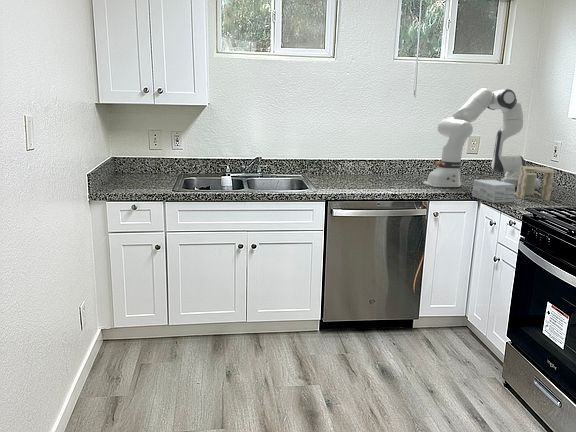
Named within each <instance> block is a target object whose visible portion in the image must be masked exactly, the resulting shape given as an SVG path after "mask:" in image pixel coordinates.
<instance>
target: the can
mask: <svg viewBox="0 0 576 432" xmlns="http://www.w3.org/2000/svg"><path fill="white" fill-rule="evenodd" d="M519 174H520V173H519ZM537 176H538V175H537V173H536V172H528V173H527V180H526V187H525V193H524V196H534V195H535V193H534V191H535V187H536V186H535V182H536V178H537ZM518 181H519V178H518ZM517 188H518V185H517V187H516V189H517ZM515 192H516V193H517V190H515Z"/></svg>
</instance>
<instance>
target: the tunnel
mask: <svg viewBox="0 0 576 432" xmlns="http://www.w3.org/2000/svg"><path fill="white" fill-rule="evenodd" d="M527 173H543V174H544V177H543V185H542V191H541V193H539V192H538V191H536V190H534V195H537V196H538V195H539V196H538V197H540V198H542V199H543V198H544V199H543V200H545V199H546V200H545V201H547V200H548V201H547V202H550V200H551V194H552V188H553V183H554V182H553V181H554V175H555V169H553V168H551V167H547V166H545V167H544V166H526V165H525V166H521V167H520V174H519V181H518V188H517V187H516V191H517V193H516V191H515V192H514V194H515V195H514V196H516V197H517V196H518V197H517V198H519V199H520V198H521V199H520V200H522V199H525V195H524V193H525V187H526V180H527Z"/></svg>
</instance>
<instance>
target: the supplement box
mask: <svg viewBox="0 0 576 432" xmlns="http://www.w3.org/2000/svg"><path fill="white" fill-rule="evenodd" d="M472 185H473V187H472V192H471V193H472V194H471V195H472V196H471V197H473V198H477V199H479V200H482V201H486V202H488V203H494V204H495V203H496V204H498V203H513V202H514V198H515V195H514V192H516V187H515V185H514V184H510V183H506V182H503V181H501V180H497V179H474V180H473V184H472Z"/></svg>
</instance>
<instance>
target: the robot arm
mask: <svg viewBox="0 0 576 432" xmlns="http://www.w3.org/2000/svg"><path fill="white" fill-rule="evenodd" d="M486 109H488V110H492V111H495V110H500V111H501V112H502V125H501V128H500V129H499V130H498V131H497V133H496V137H495V143H494V148H493V155H492V156H493V157H492V160H491V170H492V171H493V172H494V173H496V174H502V173H505V174H504V176H503V177H502V178H500V181H501V182H506V183H510V184H514V185H515V188H517V185H518V178H519V173H520V167H521V166H526V161H525V159H524V157H522V155H520V154H517V155H505V156H503V155H502V152H503V146H504V142H505V141H506V140H507V139H509V138H511V137H512V136H515V135H517V134H519V133H520V132H521V131H522V129H523V128H524V112H523V108H522V104H521V103H520V102H519V101H518V100H517V96H516V93H515V92H514V90H512V89H510V88H503V89H499V90H495V91H491V90H490V89H489V88H486V87H485V88H484V87H483V88H481V89H479V90H478V91H476V92H475V93H473V95H472V96H471V97H470V98H468V100H467V101H466V102H465V103H464V104H463V105H462V106H461V107H460V108H459V109H458V110H456V111H454V113H452V114H451V115H449V116H448V117H446V118H444V119H442V120H440V121H439V122H438V124H437V131H438V134H440V135H442V136H443V137H446V138H448V140H447V142H446V144H445V145H444V146H443V147H442V152H441V153H442V154H441V159H440V161H437V160H436V161H435V165H438V166H437V167H436V168H435V169H434V170H432V171H431V172H429V174H428V177H427V180H426V181H425V180H424V181H423V185H426V186H429V187H435V188H460V187H461V186H462V184H461V168H462V156H463V155H462V154H463V148H464V146H465V143H466V141H467V139H469V138H470V137H471V135H472V134H473V130H474V128H473V124H471V123H472V122H475V121H476V120H477V119H478V118H479V117H480V116H481V114H483V113H484V111H485V110H486ZM541 183H542V182H541V179H540V178H538V177H536V182H535V187H540V186H541Z"/></svg>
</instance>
